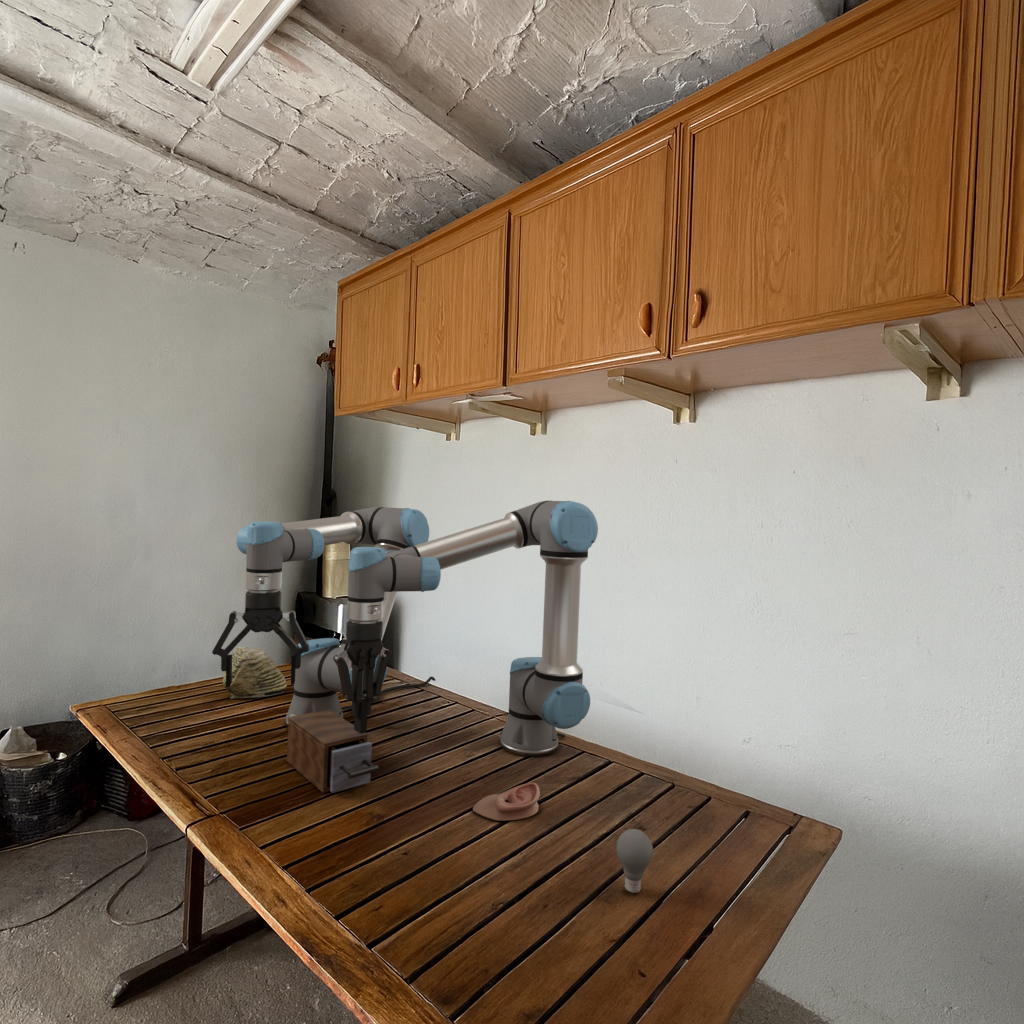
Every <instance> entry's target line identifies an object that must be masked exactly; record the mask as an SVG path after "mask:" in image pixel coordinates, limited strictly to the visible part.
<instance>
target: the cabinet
mask: <svg viewBox="0 0 1024 1024" xmlns="http://www.w3.org/2000/svg"><path fill="white" fill-rule="evenodd" d="M354 725H355V724H353V723H351V722H349V721H348V720H346V719H345V718H344V717H343V718H341V717H340V716H338V715H337V714H335V713H334V712H332V711H330V710H329V709H327V710H322V711H317V712H312V713H307V714H302V715H297V716H292V717H289V718H288V727H287V746H286V747H287V748H286V750H287V751H286V762H287V763H288V764H289V765H290V766H291V767H292V768H294V769H295V770H296V771H297V772H298V773H300V774H301V775H302V776H304V778H305V779H306V780H308V782H310V783H311V784H312V785H314V787H316V788H317V789H318V790H319V791H320V792H321V793H327V792H331V791H330V785H329V784H328V783H327V775H328V750H329V747H330V746H335V745H339V744H343V743H347V742H351V741H356V740H361V741H363V743H366V742H368V732H366V733H361V734H360V733H359V732H357V731H355V730H354Z"/></svg>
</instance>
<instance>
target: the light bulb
mask: <svg viewBox="0 0 1024 1024" xmlns="http://www.w3.org/2000/svg"><path fill="white" fill-rule="evenodd" d="M615 849H616V854H617V857H618V859H619V861H620V863H621V865H622V867H623V873H624V874H623V875H624V876H625V878H624V888H625V890H627V891H628V892H630V893H634V894H635V893H639V892H640V891H641V889H642V887H641V886H642V879H643V877H644V875H645V871H646V868H647V867H648V866H649V864H650V863H651V861H652V859H653V855H654V847H653V843H652V841H651V838H649V836H648V835H647V834H646V833H645V832H643V831H642V830H641V829H636V828H629V829H627V830H625V831H623V832H622V833H621V834H620V835H619V837H618V839H617V841H616V847H615Z"/></svg>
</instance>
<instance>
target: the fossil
mask: <svg viewBox="0 0 1024 1024" xmlns="http://www.w3.org/2000/svg"><path fill="white" fill-rule="evenodd" d="M231 655H232V683H231V685H230V687H226V671H223V675H222V676H223V677H222V685H223V687H224V688H225V690H226V691H228V693H229V698H230V699H250V698H264V697H271V696H275V695H281V694H284V693H285V691H286V689H287V687H288V686H287V680H286V678H285V676H284V674H283V673H282V672H281V669H279V668H278V667H277V665H276V663H275V662H274V660H273V659H272V658H271V657H270V656H269V655H268V654H267V653H266V652H265V650H264V649H263V648H260V647H258V648H251V647H247V646H246V647H245V646H238V647H237V648H236V649H235V650H233V651H232V653H231Z"/></svg>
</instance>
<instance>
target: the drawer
mask: <svg viewBox="0 0 1024 1024" xmlns="http://www.w3.org/2000/svg"><path fill="white" fill-rule="evenodd" d="M372 750H373V743H372V742H371V741H367V742H366V743H363V741H361V740H356V741H351V742H347V743H343V744H339V745H335V746H330V747H329V750H328V775H327V783H328V784H329V785H330V791H329V792H330V793H332V794H335V793H338V792H341V791H344V790H349V789H352V788H357V787H360V786H363V785H365V784H366V785H367V784H369V783H371V777H372V775H371V774H372V773H375V772H378V771H379V765H378V764H373V763H372V752H373V751H372Z"/></svg>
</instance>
